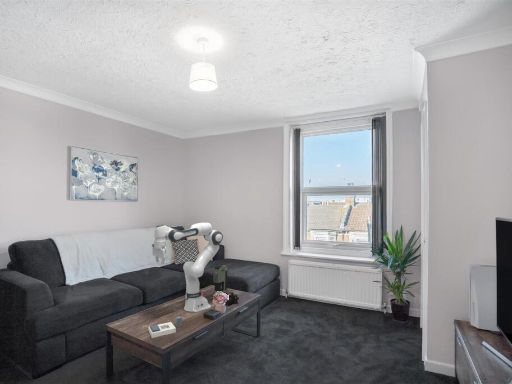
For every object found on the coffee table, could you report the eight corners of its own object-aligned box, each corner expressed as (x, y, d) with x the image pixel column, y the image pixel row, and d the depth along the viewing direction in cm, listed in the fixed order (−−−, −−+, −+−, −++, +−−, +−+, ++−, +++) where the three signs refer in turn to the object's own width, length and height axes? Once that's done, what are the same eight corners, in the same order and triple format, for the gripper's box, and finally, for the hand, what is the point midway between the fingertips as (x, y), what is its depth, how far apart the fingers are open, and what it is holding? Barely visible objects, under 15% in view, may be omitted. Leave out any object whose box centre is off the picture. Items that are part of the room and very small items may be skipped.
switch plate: (171, 326, 213) (171, 320, 213) (175, 332, 203) (175, 326, 203) (148, 331, 205) (148, 325, 205) (151, 338, 194) (152, 332, 194)
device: (218, 298, 275) (218, 266, 276) (212, 296, 279) (212, 265, 280) (227, 294, 286) (228, 263, 287) (222, 292, 291) (222, 262, 291)
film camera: (217, 305, 255) (217, 294, 256) (221, 300, 268) (221, 290, 268) (237, 307, 253) (237, 295, 253) (240, 302, 265) (240, 291, 265)
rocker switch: (180, 324, 217) (180, 315, 217) (182, 326, 213) (182, 317, 213) (175, 325, 214) (175, 316, 215) (176, 327, 211) (176, 318, 211)
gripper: (169, 246, 225) (169, 264, 224) (158, 243, 239) (158, 260, 239) (162, 247, 220) (161, 265, 220) (151, 244, 235) (150, 261, 235)
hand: (159, 262), depth 230 cm, fingers open, 8 cm apart
